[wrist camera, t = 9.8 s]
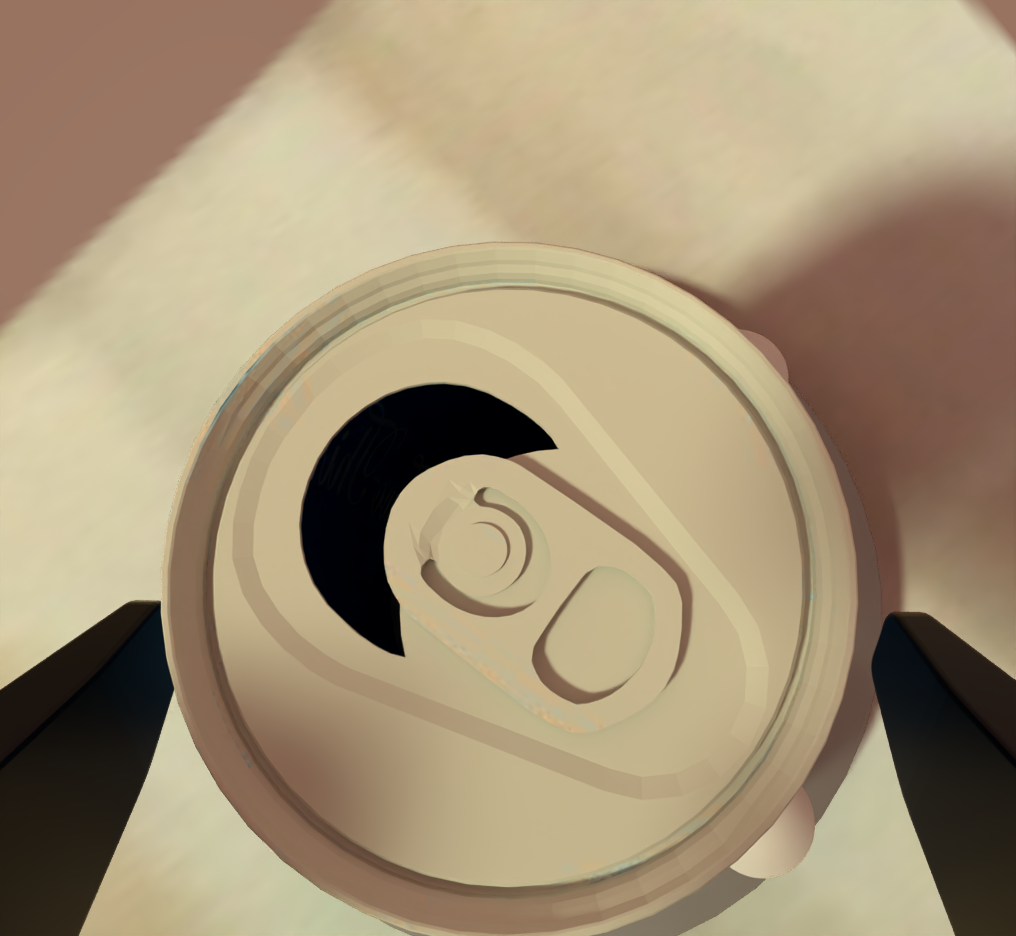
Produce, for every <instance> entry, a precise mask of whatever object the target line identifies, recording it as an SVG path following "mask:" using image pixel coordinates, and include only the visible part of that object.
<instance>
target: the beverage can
mask: <svg viewBox="0 0 1016 936" xmlns="http://www.w3.org/2000/svg"><path fill="white" fill-rule="evenodd" d="M857 613H858V583H857V560H856V551H855V545H854V540H853V534H852V529H851V523H850V517H849V512H848V508H847V505H846V501H845V498H844V495H843V492H842V489H841V485H840V482H839V479H838V476H837V473H836V470H835V466H834V464H833V462H832V460H831V458H830V456H829V453H828V451H827V449H826V447H825V445H824V443H823V440H822V438H821V436H820V434H819V432H818V430H817V428H816V425H815V424H814V422H813V420H812V419H811V417H810V416H809V414H808V413H807V411H806V409H805V408H804V406H803V405H802V403H801V401H800V400H799V398H798V397H797V395H796V393H795V392H794V390H793V389H792V387H791V386H790V385H789V383H788V382H787V381H786V380H785V378H784V377H783V376H782V375H781V374H780V372H779V371H778V370H777V369H776V368H775V366H774V365H773V364H772V363H771V362H770V360H769V359H768V358H767V357H766V355H765V354H764V353H763V352H762V351H761V350H760V349H759V348H758V347H757V346H756V345H755V344H754V343H753V342H751V341H750V340H749V339H748V338H747V337H746V336H745V335H744V334H743V333H742V332H741V331H740V330H739V329H738V328H737V327H736V326H734V325H733V324H732V323H731V322H730V321H729V320H727V319H726V318H725V317H723V316H722V315H721V314H719V313H718V312H716V311H715V310H714V309H712V308H711V307H710V306H708V305H707V304H705V303H704V302H703V301H701V300H700V299H699V298H697V297H696V296H694V295H692V294H691V293H689V292H687V291H685V290H683V289H682V288H680V287H678V286H676V285H674V284H673V283H671V282H669V281H667V280H665V279H664V278H662V277H660V276H658V275H656V274H653V273H651V272H648V271H646V270H643V269H641V268H638V267H636V266H633V265H631V264H629V263H626V262H624V261H621V260H619V259H615V258H611V257H608V256H604V255H600V254H596V253H593V252H589V251H585V250H581V249H578V248H571V247H564V246H557V245H550V244H543V243H533V242H487V243H477V244H467V245H458V246H450V247H446V248H442V249H437V250H433V251H428V252H424V253H420V254H415V255H411V256H408V257H406V258H403V259H400V260H397V261H394V262H392V263H389V264H386V265H383V266H380V267H378V268H375V269H372V270H370V271H368V272H366V273H364V274H362V275H360V276H358V277H356V278H354V279H352V280H350V281H348V282H346V283H344V284H342V285H340V286H338V287H336V288H334V289H333V290H331V291H330V292H328V293H327V294H325V295H324V296H322V297H321V298H319V299H318V300H316V301H315V302H313V303H312V304H310V305H309V306H307V307H306V308H304V309H303V310H301V311H300V312H299V313H297V314H296V315H295V316H294V317H293V318H292V319H290V320H289V321H288V322H287V323H286V324H285V325H283V326H282V327H281V328H280V329H279V330H278V331H276V332H275V333H274V334H273V335H272V336H270V337H269V338H268V339H267V340H266V341H265V342H264V344H263V345H262V346H261V347H260V348H259V349H258V350H257V351H256V352H255V353H254V354H253V356H252V357H251V358H250V359H249V360H248V361H247V362H246V363H245V364H244V365H243V366H242V367H241V369H240V370H239V371H238V372H237V374H236V375H235V377H234V378H233V379H232V381H231V382H230V384H229V385H228V386H227V388H226V389H225V391H224V392H223V393H222V395H221V396H220V398H219V399H218V400H217V402H216V403H215V405H214V406H213V408H212V410H211V412H210V414H209V416H208V417H207V419H206V421H205V423H204V425H203V426H202V428H201V430H200V432H199V434H198V436H197V437H196V439H195V441H194V443H193V446H192V448H191V451H190V453H189V456H188V458H187V461H186V463H185V466H184V468H183V471H182V474H181V476H180V479H179V481H178V484H177V488H176V492H175V496H174V500H173V504H172V507H171V511H170V515H169V519H168V523H167V528H166V536H165V544H164V551H163V559H162V567H161V618H162V626H163V634H164V642H165V650H166V658H167V662H168V666H169V670H170V674H171V678H172V682H173V685H174V689H175V693H176V697H177V701H178V704H179V707H180V709H181V712H182V714H183V717H184V719H185V722H186V724H187V727H188V729H189V732H190V734H191V737H192V739H193V742H194V744H195V747H196V748H197V750H198V752H199V754H200V756H201V757H202V759H203V761H204V763H205V764H206V766H207V768H208V770H209V771H210V773H211V775H212V777H213V778H214V780H215V782H216V784H217V785H218V787H219V789H220V790H221V791H222V793H223V794H224V795H225V797H226V798H227V799H228V801H229V802H230V803H231V805H232V806H233V807H234V809H235V810H236V811H237V812H238V814H239V815H240V816H241V818H242V819H243V820H244V822H245V823H246V824H247V826H248V827H249V828H250V829H251V830H252V831H253V832H254V833H255V834H256V835H257V836H258V837H259V838H260V839H261V840H262V841H263V842H264V843H265V844H266V845H267V846H268V847H269V848H270V849H271V850H272V851H273V852H274V853H275V854H276V855H277V856H278V857H279V858H280V859H281V860H282V861H284V862H285V863H286V864H288V865H289V866H290V867H292V868H293V869H294V870H296V871H297V872H298V873H300V874H301V875H302V876H304V877H305V878H306V879H308V880H309V881H310V882H312V883H313V884H314V885H316V886H317V887H318V888H320V889H321V890H323V891H324V892H326V893H328V894H330V895H332V896H333V897H335V898H337V899H339V900H341V901H343V902H344V903H346V904H348V905H350V906H352V907H353V908H355V909H357V910H359V911H361V912H362V913H364V914H367V915H370V916H372V917H375V918H377V919H380V920H383V921H385V922H388V923H390V924H393V925H396V926H398V927H401V928H403V929H406V930H409V931H412V932H417V933H421V934H426V935H430V936H591V935H596V934H601V933H605V932H609V931H611V930H614V929H617V928H619V927H622V926H625V925H628V924H630V923H633V922H636V921H638V920H641V919H644V918H646V917H649V916H652V915H654V914H656V913H658V912H660V911H662V910H663V909H665V908H667V907H669V906H671V905H673V904H674V903H676V902H678V901H680V900H682V899H684V898H685V897H687V896H689V895H691V894H693V893H695V892H696V891H698V890H699V889H701V888H702V887H703V886H705V885H706V884H707V883H709V882H710V881H711V880H713V879H714V878H715V877H717V876H718V875H719V874H721V873H722V872H723V871H725V870H726V869H727V868H729V867H730V866H731V865H733V864H734V863H735V862H737V861H738V860H739V859H740V858H741V857H742V856H743V855H744V854H745V853H746V852H747V851H748V850H749V849H750V848H751V847H752V846H753V845H754V844H755V843H756V842H757V841H758V840H759V839H760V838H761V837H762V836H763V835H764V834H765V833H766V832H767V831H768V830H769V829H770V828H771V827H772V826H773V825H774V823H775V822H776V821H777V819H778V818H779V817H780V815H781V814H782V813H783V811H784V810H785V809H786V807H787V806H788V805H789V803H790V802H791V801H792V799H793V798H794V797H795V795H796V794H797V793H798V791H799V790H800V789H801V787H802V786H803V784H804V782H805V780H806V778H807V777H808V775H809V773H810V771H811V769H812V768H813V766H814V764H815V762H816V760H817V758H818V757H819V755H820V753H821V751H822V749H823V748H824V746H825V744H826V742H827V739H828V736H829V734H830V731H831V728H832V726H833V723H834V721H835V718H836V715H837V713H838V710H839V707H840V705H841V702H842V699H843V696H844V692H845V688H846V683H847V679H848V675H849V670H850V666H851V662H852V657H853V653H854V645H855V634H856V624H857Z"/></svg>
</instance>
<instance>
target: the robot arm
mask: <svg viewBox="0 0 1016 936" xmlns="http://www.w3.org/2000/svg"><path fill="white" fill-rule="evenodd" d="M871 673H872V679H873V683H874V687H875V691H876V695H877V699H878V703H879V706H880V710H881V714H882V718H883V722H884V726H885V730H886V734H887V738H888V742H889V746H890V750H891V753H892V757H893V761H894V765H895V769H896V773H897V777H898V780H899V784H900V787H901V791H902V794H903V798H904V800H905V803H906V806H907V809H908V812H909V815H910V818H911V820H912V823H913V825H914V828H915V831H916V833H917V836H918V839H919V841H920V844H921V847H922V849H923V852H924V855H925V857H926V860H927V862H928V865H929V868H930V870H931V873H932V876H933V878H934V881H935V884H936V886H937V889H938V892H939V894H940V897H941V899H942V902H943V905H944V907H945V910H946V913H947V915H948V918H949V921H950V923H951V926H952V928H953V931H954V934H955V936H1016V680H1015V679H1013V678H1012V677H1011V676H1009V675H1008V674H1007V673H1006V672H1004V671H1003V670H1002V669H1000V668H999V667H998V666H996V665H995V664H994V663H992V662H991V661H990V660H988V659H987V658H986V657H984V656H983V655H982V654H981V653H979V652H978V651H977V650H975V649H974V648H973V647H971V646H970V645H969V644H967V643H966V642H965V641H963V640H962V639H961V638H959V637H958V636H957V635H956V634H954V633H953V632H952V631H950V630H949V629H948V628H946V627H945V626H944V625H942V624H941V623H940V622H938V621H937V620H936V619H934V618H933V617H932V616H930V615H928V614H926V613H922V612H892V613H890V614H889V615H888V616H887V617H886V619H885V621H884V624H883V627H882V630H881V633H880V636H879V639H878V642H877V645H876V647H875V650H874V653H873V657H872V662H871ZM173 692H174V685H173V682H172V678H171V674H170V670H169V666H168V662H167V658H166V650H165V642H164V634H163V626H162V618H161V601H152V600H135V601H130V602H128V603H126V604H124V605H123V606H121V607H120V608H119V609H117V610H116V611H114V612H113V613H111V614H110V615H108V616H107V617H105V618H104V619H103V620H101V621H100V622H98V623H97V624H95V625H94V626H92V627H91V628H89V629H88V630H87V631H85V632H84V633H82V634H81V635H79V636H78V637H76V638H75V639H73V640H72V641H71V642H69V643H68V644H66V645H65V646H63V647H62V648H60V649H59V650H57V651H56V652H54V653H53V654H52V655H50V656H49V657H47V658H46V659H44V660H43V661H41V662H40V663H38V664H37V665H36V666H34V667H33V668H31V669H30V670H28V671H27V672H25V673H24V674H22V675H21V676H20V677H18V678H17V679H15V680H14V681H12V682H11V683H9V684H8V685H6V686H5V687H4V688H2V689H1V690H0V936H79V934H80V932H81V929H82V927H83V925H84V922H85V920H86V918H87V915H88V913H89V911H90V908H91V906H92V904H93V901H94V899H95V897H96V894H97V892H98V890H99V887H100V885H101V883H102V880H103V878H104V876H105V873H106V871H107V869H108V866H109V864H110V862H111V859H112V857H113V855H114V852H115V850H116V848H117V845H118V843H119V841H120V838H121V836H122V834H123V831H124V829H125V827H126V824H127V822H128V820H129V817H130V815H131V813H132V810H133V808H134V806H135V803H136V801H137V799H138V796H139V794H140V792H141V789H142V787H143V784H144V782H145V779H146V777H147V774H148V771H149V768H150V765H151V762H152V759H153V756H154V753H155V750H156V747H157V744H158V740H159V737H160V734H161V731H162V727H163V724H164V721H165V718H166V714H167V711H168V708H169V705H170V701H171V698H172V695H173Z"/></svg>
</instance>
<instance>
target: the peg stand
mask: <svg viewBox="0 0 1016 936" xmlns="http://www.w3.org/2000/svg"><path fill="white" fill-rule="evenodd" d="M739 330H740V331H741V332H742V333H743V334H744V335H745V336H746V337H747V338H748V339H749V340H750V341H751V342H753V343H754V344H755V345H756V346H757V347H758V348H759V349H760V350H761V351H762V352H763V353H764V354H765V355H766V357H767V358H768V359H769V360H770V362H771V363H772V364H773V365H774V366H775V368H776V369H777V370H778V371H779V372H780V374H781V375H782V376H783V377H784V378H785V380H786V381H787V382H788V383H789V385H790V386H791V387H792V389H793V390H794V392H795V393H796V395H797V397H798V398H799V400H800V401H801V403H802V405H803V406H804V408H805V409H806V411H807V413H808V414H809V416H810V417H811V419H812V420H813V422H814V424H815V425H816V428H817V430H818V432H819V434H820V436H821V438H822V440H823V443H824V445H825V447H826V449H827V451H828V453H829V456H830V458H831V460H832V462H833V464H834V466H835V470H836V473H837V476H838V479H839V482H840V485H841V489H842V492H843V495H844V498H845V501H846V505H847V508H848V512H849V517H850V523H851V529H852V534H853V540H854V545H855V551H856V560H857V583H858V613H857V624H856V634H855V645H854V653H853V657H852V662H851V666H850V670H849V675H848V679H847V683H846V688H845V692H844V696H843V699H842V702H841V705H840V707H839V710H838V713H837V715H836V718H835V721H834V723H833V726H832V728H831V731H830V734H829V736H828V739H827V742H826V744H825V746H824V748H823V749H822V751H821V753H820V755H819V757H818V758H817V760H816V762H815V764H814V766H813V768H812V769H811V771H810V773H809V775H808V777H807V778H806V780H805V782H804V784H803V786H802V787H801V789H800V790H799V791H798V793H797V794H796V795H795V797H794V798H793V799H792V801H791V802H790V803H789V805H788V806H787V807H786V809H785V810H784V811H783V813H782V814H781V815H780V817H779V818H778V819H777V821H776V822H775V823H774V825H773V826H772V827H771V828H770V829H769V830H768V831H767V832H766V833H765V834H764V835H763V836H762V837H761V838H760V839H759V840H758V841H757V842H756V843H755V844H754V845H753V846H752V847H751V848H750V849H749V850H748V851H747V852H746V853H745V854H744V855H743V856H742V857H741V858H740V859H739V860H738V861H737V862H735V863H734V864H733V865H731V866H730V867H729V868H727V869H726V870H725V871H723V872H722V873H721V874H719V875H718V876H717V877H715V878H714V879H713V880H711V881H710V882H709V883H707V884H706V885H705V886H703V887H702V888H701V889H699V890H698V891H696V892H695V893H693V894H691V895H689V896H687V897H685V898H684V899H682V900H680V901H678V902H676V903H674V904H673V905H671V906H669V907H667V908H665V909H663V910H662V911H660V912H658V913H656V914H654V915H652V916H649V917H646V918H644V919H641V920H638V921H636V922H633V923H630V924H628V925H625V926H622V927H619V928H617V929H614V930H611V931H609V932H605V933H601V934H596V935H591V936H678V935H680V934H682V933H684V932H686V931H688V930H690V929H692V928H693V927H695V926H697V925H699V924H701V923H703V922H705V921H707V920H709V919H711V918H713V917H715V916H717V915H719V914H720V913H721V912H723V911H724V910H726V909H727V908H728V907H730V906H731V905H733V904H734V903H736V902H737V901H738V900H740V899H741V898H743V897H744V896H746V895H747V894H748V893H750V892H751V891H753V890H754V889H756V888H757V887H758V886H759V885H760V884H761V883H762V882H763V881H764V880H765V879H766V878H773V877H777V876H780V875H783V874H785V873H787V872H789V871H791V870H792V869H793V868H795V867H796V866H797V865H798V864H799V863H800V862H801V861H802V860H803V859H804V857H805V856H806V854H807V852H808V851H809V849H810V846H811V844H812V840H813V837H814V830H815V825H816V824H817V822H818V821H819V820H820V819H821V817H822V816H823V814H824V812H825V811H826V809H827V807H828V806H829V804H830V802H831V801H832V799H833V797H834V795H835V794H836V792H837V790H838V789H839V787H840V785H841V784H842V782H843V780H844V778H845V777H846V775H847V772H848V770H849V768H850V765H851V763H852V760H853V758H854V756H855V753H856V751H857V748H858V746H859V744H860V741H861V739H862V736H863V734H864V732H865V728H866V724H867V720H868V716H869V713H870V709H871V705H872V701H873V697H874V694H875V687H874V683H873V679H872V673H871V662H872V657H873V653H874V650H875V647H876V645H877V642H878V639H879V636H880V633H881V630H882V591H881V584H880V577H879V570H878V563H877V556H876V550H875V545H874V541H873V538H872V534H871V531H870V527H869V523H868V520H867V516H866V513H865V509H864V506H863V502H862V500H861V498H860V495H859V493H858V491H857V488H856V486H855V484H854V481H853V479H852V477H851V474H850V472H849V470H848V467H847V465H846V463H845V461H844V459H843V457H842V455H841V454H840V452H839V450H838V449H837V447H836V445H835V444H834V442H833V440H832V438H831V437H830V435H829V433H828V432H827V430H826V428H825V427H824V425H823V423H822V422H821V421H820V419H819V418H818V417H817V415H816V414H815V413H814V412H813V410H812V409H811V408H810V406H809V405H808V404H807V402H806V401H805V400H804V399H803V397H802V396H801V395H800V393H799V392H798V391H797V389H796V388H795V387H794V386H793V385H792V384H791V383H790V382H789V381H788V379H789V375H788V368H787V365H786V362H785V359H784V357H783V355H782V354H781V352H780V351H779V349H778V348H777V347H776V346H775V345H774V344H773V343H772V342H771V341H770V340H768V339H767V338H765V337H764V336H762V335H760V334H758V333H755V332H752V331H748V330H742V329H739ZM263 843H264V842H263ZM264 844H265V843H264ZM265 845H266V844H265ZM266 846H267V845H266ZM267 847H268V846H267ZM268 848H269V847H268ZM269 850H271V849H270V848H269ZM271 851H272V850H271ZM272 852H273V851H272ZM273 853H274V852H273ZM274 854H275V853H274ZM379 920H380V919H379ZM381 921H382V922H384V923H386V924H387V925H389V926H391V927H393V928H395V929H398V930H400V931H402V932H405V933H407V934H410V935H412V936H430V935H426V934H421V933H417V932H412V931H409V930H406V929H403V928H401V927H398V926H396V925H393V924H390V923H388V922H385V921H383V920H381Z"/></svg>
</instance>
